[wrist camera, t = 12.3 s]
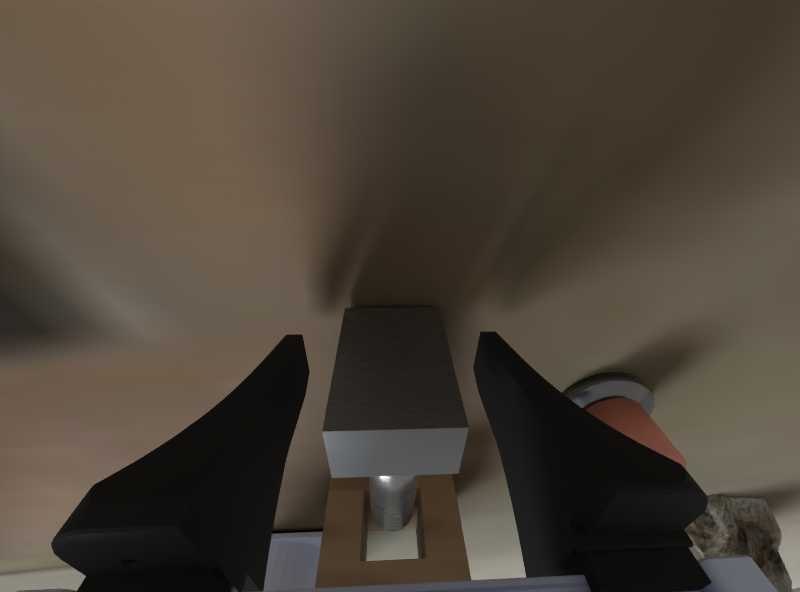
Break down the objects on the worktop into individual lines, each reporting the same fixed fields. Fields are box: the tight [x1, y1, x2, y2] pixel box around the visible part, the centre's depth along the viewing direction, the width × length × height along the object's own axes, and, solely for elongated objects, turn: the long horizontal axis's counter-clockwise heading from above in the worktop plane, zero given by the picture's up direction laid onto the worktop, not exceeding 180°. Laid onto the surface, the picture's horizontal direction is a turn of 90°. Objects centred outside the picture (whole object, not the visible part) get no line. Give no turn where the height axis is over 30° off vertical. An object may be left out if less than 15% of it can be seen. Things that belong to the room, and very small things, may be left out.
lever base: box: [562, 373, 654, 415], centre depth 18 cm, size 5×5×1 cm
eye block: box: [315, 474, 471, 588], centre depth 20 cm, size 6×8×6 cm
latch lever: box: [586, 398, 686, 468], centre depth 18 cm, size 4×10×3 cm, turn 166°
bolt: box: [322, 307, 469, 531], centre depth 14 cm, size 11×4×6 cm, turn 179°
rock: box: [684, 495, 793, 592], centre depth 28 cm, size 18×11×10 cm, turn 5°
